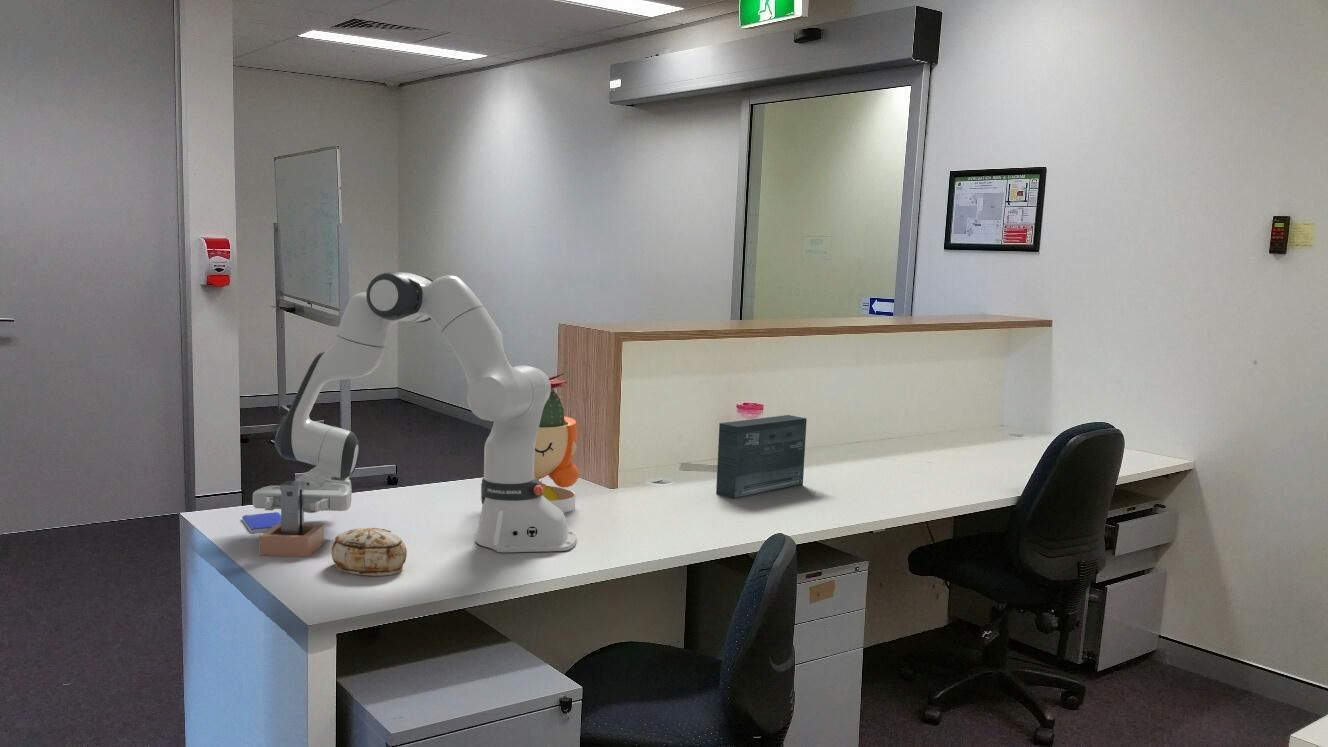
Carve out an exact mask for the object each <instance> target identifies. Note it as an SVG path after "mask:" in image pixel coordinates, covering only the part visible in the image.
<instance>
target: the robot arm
mask: <svg viewBox="0 0 1328 747" xmlns="http://www.w3.org/2000/svg"><path fill="white" fill-rule="evenodd" d="M431 320H432V321H433V322H434V324H435V325H436V327H437V328H438V329H439V332H440V333H441V334H442V336H443V337H444V339H445V341H446V342H447V344H448V346H449V347H450V348H451V350H452V352H453V353H454V355H455V356H456V358H457V360H458V361H459V363H460V365H461V367H462V370H463V373H464V375H465V376H464V377H465V378H466V382H467V386H468V390H467V393H466V395H467V398H466V399H467V404H468V407H469V409H470V410H471V412H472V413H473V414H474V416H476V417H477V418H479V419H481V420H482V421H483V420H484V421H490V422H493V425H492V427H491V430H490V432H489V435H488V437H487V438H486V439H485V440H486V441H485V443H484V450H483V451H484V457H483V461H484V462H483V477H482V479H481V483H480V485H481V486H480V501H481V504H482V507H481V513H480V514H481V515H480V520H479V525H478V528H477V533H476V536H475V538H474V541H475V543H476V544H478V545H479V546H482V547H484V548H489V549H492V550H494V551H495V552H496V553H497V552H498V553H531V552H564V551H565V552H566V551H569V550H571V549H572V548H574V547H575V546H576V545H577V541H578V540H577V534H576V533H575V532H574V531H572V530H570V529H568V524H567V520H566V516H565V513H563V512H562V510H560V509H559V508H558V507H556V506H555V505H554V504H553V503H551V502H550V501H549V500H547V499H546V498H545V497H544V496H542V494H543V484H544V483H543V480H541V479H540V480H539V481H538V480H537V479H535V478H534V460H535V444H536V438H537V433H538V429H539V425H540V420H541V416H542V412H543V409H544V406H545V404H546V402H547V400H548V398H549V396H550V393H551V384H550V381H549V378H550V377H548V375H547V374H546V373H545V372H544V371H543V370H542V369H541V368H540V369H539V368H537V367H534V366H530V365H523V364H521V365H517V366H512V365H511V364H510V362H509V359H508V358H507V355H506V352H505V348H504V336H503V334H502V332H501V330H500V329H499V327H498V326H497V324H496V323H495V321H494V320H493V318H492V317H491V315H490V313H489V312H488V311H487V309H486V307H484V305H483V303H482V302H481V300H480V299H479V298H478V296H477V295H476V294H475V292H473V290H472V289H471V288H470V287H469V286H468V285H467V284H466V283H465V282H464V281H463V280H462V279H461V278H460V277H458V276H456V275H451V274H448V275H443V276H440V277H437V278H436V279H434V280H433V279H432V278H429V277H427V276H425V275H424V276H421V275H417V274H414V273H411V272H400V271H399V272H397V271H388V272H384V273H380V274H378V275H376V276H375V277H374V278H373V279H372V280H371V281H370V282H369V283H368V286H367V288H366V292H365V291H364V292H363V291H362V292H358V293H356V294H354V295H353V296H351V297H350V299H349V301H348V304H347V305H346V307H345V310H344V312H343V315H342V318H341V320H340V323H339V325H338V329H337V333H336V336H335V339H334V341H333V343H332V344H331V346H330V347H329V348H328V349H327V350H326V351H324V352H323V351H322V352H319V353H318V354H317V355H316V356H315V357H314V359H313V360H312V362H311V364H309V365H310V366H309V367H308V369H307V371H306V374H305V375H304V377H303V379H302V382H301V383H300V385H299V388H298V390H297V393H296V395H295V397H294V399H293V401H292V403H291V405H290V407H289V409H288V412H287V414H286V416H284V417H285V418H284V419H283V421H282V422H281V424H280V426H279V428H278V429H277V432H276V434H275V437H274V438H275V439H274V441H273V442H274V447H275V448H276V450H277V452H278V453H279V455H280V457H282V458H283V459H285V460H289V461H290V460H291V461H295V462H302V463H305V464H309V465H314V467H313V468H311V469H310V470H309V471H306V472H305V473H303V474H302V475H300V476H298V477H297V478H296V479H295V480H294V481H305V487H304V513H308V514H314V513H318V512H320V511H321V512H324V511H326V512H327V511H332V512H334V511H335V512H336V511H337V512H345V511H348V510H349V509H350V508H351V505H352V491H353V490H352V489H353V488H352V482H351V479H350V476H351V475H353V473H354V472H355V470H356V468H357V465H358V462H359V460H360V456H361V455H360V454H361V445H360V443H359V440H358V437H357V436H356V434H355V433H354V432H353V431H350V430H348V429H344V428H341V427H338V426H334V425H328V424H326V423H325V424H324V423H323V422H318V421H314V420H312V419H311V418H310V413H311V411H312V410H313V407H314V404H315V403H316V400H317V398H318V396H319V394H320V392H321V390H322V388H323V387H324V385H325V384H326V383H329V382H332V381H336V380H337V381H338V380H350V379H351V380H352V379H359V378H362V377H366V376H368V375H370V374H372V373H373V372H374V371H376V370H377V368H379V366H380V364H381V363H382V362H381V361H382V359H383V356H384V353H385V350H386V346H387V342H388V339H389V334H390V331H391V329H392V328H393V326H395V324H398V323H399V322H401V323H425V322H427V321H431ZM252 505H253V507H254V508H255V509H264V510H265V511H275V510H281V491H280V485H268V486H263V487H260V488H257V490H255V491H253V493H252Z"/></svg>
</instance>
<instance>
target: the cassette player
mask: <svg viewBox="0 0 1328 747" xmlns="http://www.w3.org/2000/svg"><path fill="white" fill-rule="evenodd" d="M807 420H808V419H807V418H806V417H801V416H795V415H792V414H791V415H790V414H786V415H785V414H784V415H777V416H768V417H760V418H751V419H744V420H735V421H725V422H719V424H718V425H719V428H718V447H717V449H718V450H717V464H716V465H717V468H716V469H717V470H716V486H715V487H716V490H715V494H716V495H718V496H723V497H727V498H729V499H734V500H736V499H737V500H738V499H741V498H742V499H743V498H747V497H752V496H756V495H762V494H767V493H771V492H772V493H774V492H778V491H783V490H786V489H793V488H797V487H802V486H804V473H805V472H804V470H805V455H806V454H805V453H806V436H807Z"/></svg>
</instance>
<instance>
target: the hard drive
mask: <svg viewBox="0 0 1328 747" xmlns="http://www.w3.org/2000/svg"><path fill="white" fill-rule="evenodd" d="M241 519H242V522H243V523H244V524H245V525H246V527H247V529H248V530H249V531H250V533H251V534H255V533H265V532H266V531H267V530H269V529H270V528H272V527H273V526H274V525H276V524H277V523H280V524H281V512H278V511H277V512H276V511H275V512H265V513H254V514H246V515H242V518H241Z"/></svg>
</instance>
